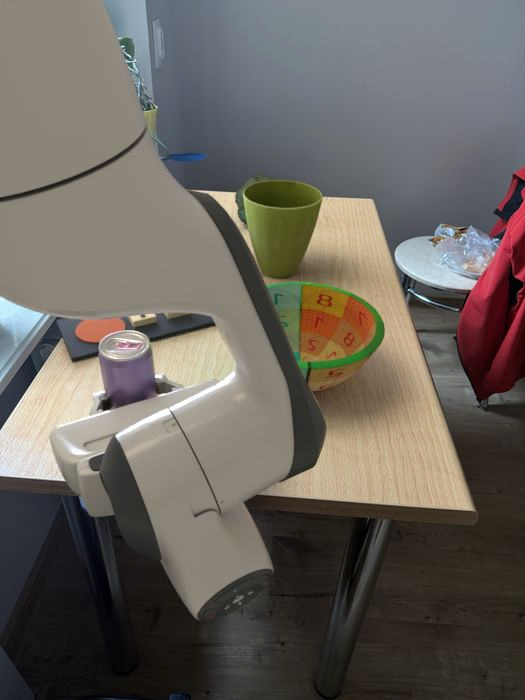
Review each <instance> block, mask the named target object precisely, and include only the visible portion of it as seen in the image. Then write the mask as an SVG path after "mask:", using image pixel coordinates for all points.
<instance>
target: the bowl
mask: <svg viewBox="0 0 525 700" xmlns="http://www.w3.org/2000/svg"><path fill="white" fill-rule="evenodd" d="M266 286H267V289H268V291H269V294H270V296H271V298H272V301H273V303H274V306H275V308H276V311H277V313H278V316H279V318H280V321H281V323H282V326H283V328H284V331H285V333H286V336H287V338H288V341H289V343H290V346H291V348H292V351H293V353H294V356H295V358H296V361H297V363H298V366H299V368H300V370H301V372H302V374H303V376H304V378H305V380H306V382H307V384H308V386H309V388H310V389H311V391H312V392H317V391H323V390H326V389H331V388H332V387H335V386H337V385H339V384H341V383H342V382H344V381H346V380H348V379H349V378H351V377H352V376H353V375H354V374H356V372H358V371H359V370H360V369H361V368H362V366H363V365H364V363H366V361H368V360H369V359H370V358H371V356H372V355H373V354H374V353H375V352H376V351H377V350H378V348H379V347H380V346H381V345H382V343H383V340H384V338H385V333H386V328H385V322H384V320H383V318H382V315H381V314H380V313H379V312H378V310H377V309H376V308H375V307H374V306H373V305H372V304H371V303H369V302H368V301H367V300H365V299H364V298H362V297H360V296H358V295H356V294H354V293H352V292H351V291H348V290H345V289H343V288H340V287H336V286H333V285H329V284H324V283H317V282H310V281H309V282H307V281H286V282H277V283H271V284H266Z"/></svg>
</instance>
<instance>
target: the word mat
mask: <svg viewBox="0 0 525 700" xmlns="http://www.w3.org/2000/svg"><path fill="white" fill-rule="evenodd" d="M55 323H56V326H57V328H58V330H59V333H60V335H61V338H62V340H63V343H64V345H65V348H66V350H67V353H68V355H69V357H70V361H71V362H72V363H75V362H78V361H83V360H87V359H90V358H94V357H98V354H99V344H100V342H101V341H102V340H103V339H104V338H105V337H106V336H108V335H110V334H112V333H115V332H119V331H137V332H140V333H143V334H145V335H146V336H147V337H148V338H149V340H150V343H151V342H155V341H160V340H163V339H167V338H170V337H174V336H178V335H179V336H180V335H182V334H183V335H184V334H187V333H190V332H194V331H198V330H202V329H205V328H209V327H212V326H216V324H215V323H214V321H213V319H212V317H211V316H207V315H203V314H196V313H155V314H143V315H135V316H127V317H120V318H113V319H103V320H83V319H69V318H61V319H56V320H55Z"/></svg>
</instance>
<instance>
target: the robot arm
mask: <svg viewBox="0 0 525 700" xmlns="http://www.w3.org/2000/svg"><path fill="white" fill-rule="evenodd" d="M266 285H267V284H266V281H265V279H264V277H263V275H262V272H261V269H260V267H259V265H258V263H257V260H256V258H255V257H254V255H253V253H252V250H251V249H250V247H249V244H248V243H247V240H246V238H245V237H244V235H243V233H242V231H241V230H240V229H239V227H238V225H237V224H236V222H235V221H234V219H233V218H232V217H231V216H230V214H229V213H228V211H226V209H225V208H224V207H223V206H222V204H220V202H218V200H217V199H215V198H214V197H213V196H212V195H210V194H209V193H207V192H201V191H196V190H191V189H186V188H185V187H183V186H182V184H180V183H179V182H178V180H177V179H176V178H175V177H174V176H173V175H172V173H171V172H170V171H169V170H168V168H167V166H166V165H165V163H164V162H163V160H162V158H161V156H160V154H159V153H158V150H157V148H156V147H155V144H154V142H153V139H152V136H151V133H150V130H149V127H148V124H147V120H146V117H145V113H144V111H143V107H142V104H141V101H140V97H139V94H138V91H137V88H136V85H135V82H134V79H133V77H132V73H131V71H130V68H129V65H128V62H127V58H126V57H125V54H124V51H123V49H122V45H121V43H120V41H119V38H118V35H117V33H116V31H115V27H114V25H113V22H112V21H111V18H110V15H109V13H108V11H107V8H106V5H105V3H104V1H103V0H0V298H2V299H4V300H6V301H7V302H10V303H12V304H14V305H15V306H16V305H17V306H19V307H21V308H24V309H27V310H30V311H32V312H36V313H39V314H44V315H48V316H52V317H56V318H57V317H58V318H61V319H64V318H69V319H83V320H103V319H113V318H120V317H127V316H135V315H143V314H155V313H196V314H203V315H207V316H211V317H212V319H213V321H214V323H215V326H216V329H217V330H218V332H219V334H220V336H221V338H222V339H223V340H222V341H223V342H224V344H225V345H226V347H227V349H228V351H229V352H230V355H231V356H232V359H233V361H234V363H235V368H233V370H232V371H231V372H230V373H229V374H228V375H227V376H226V377H224V378H223V379H222V380H220V379H218V378H214V379H209V380H205V381H203V382H200V383H196V384H194V385H193V384H192V385H190V386H189V385H188V386H187V387H186V386H185V387H184V386H183V384H181V383H178V382H176V381H173V380H169V379H168V378H167V375H166V374H165V373H161V374H159V375H158V374H157V375H155V377H156V386H157V395H158V396H156V397H153V398H149V399H146V400H143V401H139V402H136V403H133V404H129V405H126V406H123V407H119V408H116V409H113V410H110V405H109V400H108V397H107V395H106V394H105V390H102V391H98V392H95V393H92V394H91V395H92V396H91V397H92V400H93V404H92V406H91V408H90V410H89V412H88V413H89V416H87V417H82V418H79V419H77V420H72V421H70V422H66V423H62V424H59V425H57V426H55V427H54V428H53V429H52V430H51V431H50V433H49V434H48V439H49V443H50V447H51V449H52V453H53V456H54V459H55V463H56V464H57V467H58V470H59V471H60V473H61V476H62V477H63V479H64V481H65V483H66V484H67V486H68V487H69V489H70V490H71V491H72V492H74V493H75V494H77V495H79V496H80V498H81V500H82V503H83V505H84V508H85V510H86V512H87V514H88V515H89V516H90V517H93V518H103V517H108V516H114V518H115V521H116V524H117V527H118V529H119V532H120V534H121V536H122V538H123V540H124V542H125V543H126V545H127V546H128V547H129V548H130V549H132V550H133V551H135V552H136V553H137V552H138V553H139V554H141V555H143V556H146V557H148V558H150V559H153V560H157V561H160V563H161V565H162V567H163V570H164V572H165V573H166V575H167V577H168V579H169V580H170V582H171V584H172V586H173V588H174V589H175V591H176V593H177V594H178V596H179V598H180V599H181V602H182V603H183V604H184V605H185V607H186V608H187V610H188V611H189V613H190V614H191V615H192V617H193V618H195V620H197V621H202V622H203V621H215V620H218V619H220V618H223V617H226V616H229V615H230V614H232V613H233V612H235V611H236V610H237V611H238V609H240V608H242V607H244V606H245V605H247V604H248V603H249V602H251V601H252V600H254V599H255V598H256V597H258V596H259V594H260V593H261V592H262V591H264V590H265V588H266V587H268V584H269V583H270V581H271V580H272V577H273V575H274V565H273V562H272V559H271V557H270V554H269V552H268V549H267V546H266V545H265V542H264V540H263V538H262V535H261V533H260V531H259V529H258V526H257V524H256V523H255V521H254V518H253V516H252V515H251V513H250V511H249V510H248V507H247V506H246V503H245V502H246V501H249V500H250V499H252V498H253V497H255V496H257V495H259V494H260V493H262V492H264V491H266V490H267V489H269V488H271V487H272V486H274V485H276V484H279V483H283V482H286V481H288V480H289V479H291V478H294V477H296V476H299V475H301V474H303V473H305V472H307V471H309V470H311V469H313V468H315V466H316V465H317V463H318V461H319V458H320V456H321V454H322V450H323V448H324V444H325V441H326V435H327V429H328V428H327V423H326V420H325V417H324V413H323V412H322V408H321V406H320V404H319V402H318V400H317V398H316V396H315V394H314V393H313V391H311V389H310V388H309V386H308V384H307V382H306V380H305V378H304V376H303V374H302V372H301V370H300V368H299V366H298V363H297V361H296V358H295V356H294V353H293V351H292V348H291V346H290V343H289V341H288V338H287V336H286V333H285V331H284V328H283V326H282V323H281V321H280V318H279V316H278V313H277V311H276V308H275V306H274V303H273V301H272V298H271V296H270V294H269V291H268V289H267V286H266ZM108 410H109V411H108Z"/></svg>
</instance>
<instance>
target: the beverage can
mask: <svg viewBox="0 0 525 700" xmlns="http://www.w3.org/2000/svg"><path fill="white" fill-rule="evenodd" d="M97 357H98V362H99V369H100V373H101V378H102V379H101V380H102V384H103V391H105V394H106V395H107V397H108V400H109V405H110V410H113V409H116V408H119V407H123V406H126V405H129V404H133V403H136V402H139V401H143V400H146V399H149V398H153V397H156V396H159V395H158V394H157V386H156V377H155V376H156V370H155V369H156V368H155V358H154V350H153V346H152V344H151V342H150V340H149V338H148V337H147V336H146V335H145V334H143V333H140V332H137V331H119V332H115V333H112V334H110V335H108V336H106V337H105V338H104V339H103V340H102V341H101V342H100V344H99V354H98V356H97ZM107 411H109V410H107Z"/></svg>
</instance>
